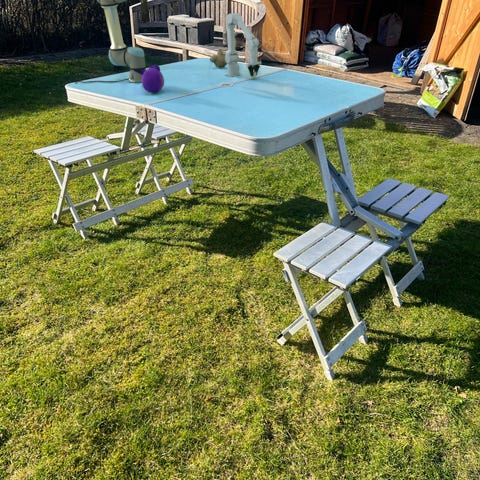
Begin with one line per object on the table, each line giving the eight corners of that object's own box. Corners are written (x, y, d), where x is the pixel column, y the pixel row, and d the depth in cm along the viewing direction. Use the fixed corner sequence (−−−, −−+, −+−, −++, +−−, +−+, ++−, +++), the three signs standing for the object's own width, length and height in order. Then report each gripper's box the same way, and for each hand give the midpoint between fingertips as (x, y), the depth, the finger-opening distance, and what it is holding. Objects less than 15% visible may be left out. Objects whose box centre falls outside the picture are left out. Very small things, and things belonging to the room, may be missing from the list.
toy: (156, 85, 322) (164, 98, 301) (131, 81, 314) (137, 93, 294) (160, 63, 314) (168, 74, 293) (135, 58, 306) (141, 69, 286)
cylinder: (251, 77, 339) (251, 71, 337) (256, 77, 339) (256, 71, 337) (251, 78, 336) (251, 72, 334) (256, 78, 336) (256, 72, 333)
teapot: (213, 69, 375) (212, 50, 367) (207, 67, 383) (206, 48, 376) (235, 67, 384) (235, 48, 376) (229, 65, 392) (228, 46, 385)
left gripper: (144, -8, 339) (147, 23, 349) (151, -9, 360) (154, 21, 371) (134, -8, 339) (138, 23, 350) (141, -8, 360) (145, 21, 371)
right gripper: (250, 58, 323) (250, 77, 330) (264, 55, 332) (264, 75, 338) (243, 57, 327) (243, 76, 334) (257, 54, 336) (257, 73, 343)
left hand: (146, 22), depth 360 cm, fingers open, 13 cm apart
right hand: (253, 75), depth 337 cm, fingers closed on cylinder, 4 cm apart
